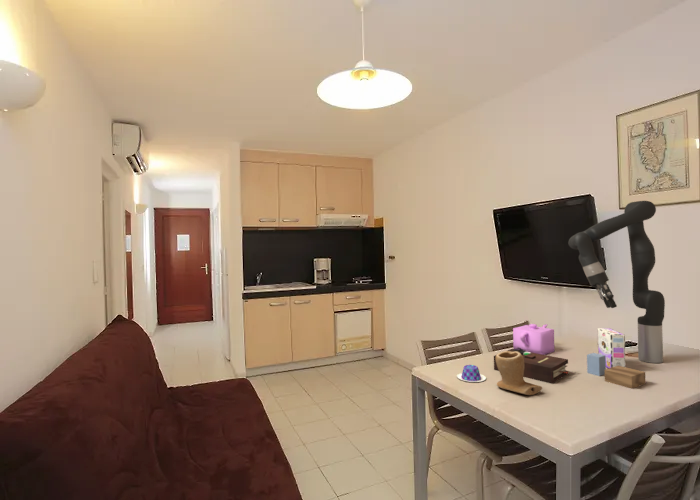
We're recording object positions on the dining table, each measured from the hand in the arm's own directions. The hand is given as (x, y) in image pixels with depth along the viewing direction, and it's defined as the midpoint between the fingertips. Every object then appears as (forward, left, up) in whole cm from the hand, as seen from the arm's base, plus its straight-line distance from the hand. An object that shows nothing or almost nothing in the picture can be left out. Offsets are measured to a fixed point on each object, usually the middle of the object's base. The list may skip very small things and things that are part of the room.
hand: (612, 307), depth 175 cm
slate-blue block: (+13, 0, -27) cm, 30 cm away
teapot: (+2, -37, -28) cm, 47 cm away
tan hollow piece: (+58, -6, -27) cm, 65 cm away
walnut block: (+15, +12, -27) cm, 34 cm away
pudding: (+61, -26, -28) cm, 72 cm away
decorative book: (+34, -17, -28) cm, 47 cm away
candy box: (-1, -1, -27) cm, 27 cm away
